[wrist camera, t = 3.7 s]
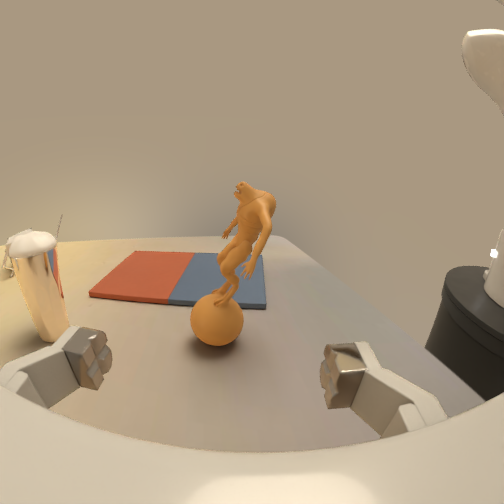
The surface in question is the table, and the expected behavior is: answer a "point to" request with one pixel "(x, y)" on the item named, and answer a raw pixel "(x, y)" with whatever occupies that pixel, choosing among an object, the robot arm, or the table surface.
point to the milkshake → (40, 282)
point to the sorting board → (178, 279)
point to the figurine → (236, 252)
